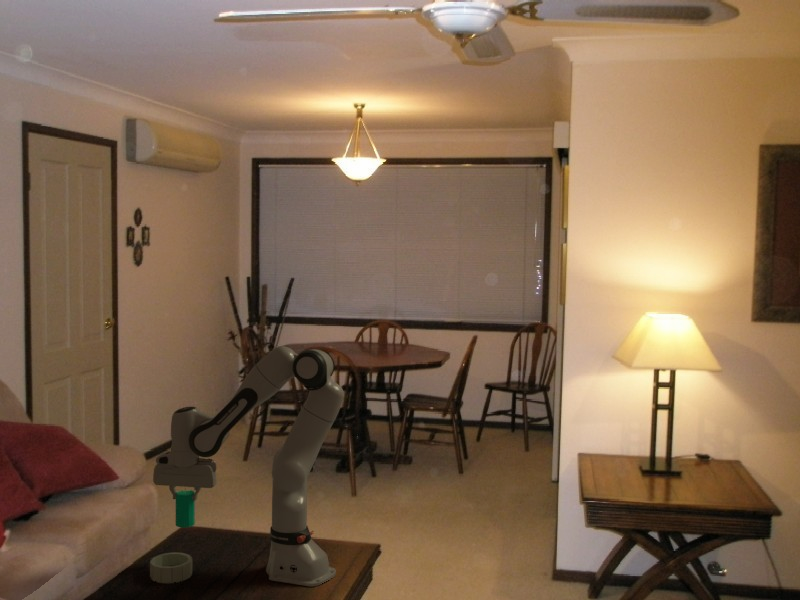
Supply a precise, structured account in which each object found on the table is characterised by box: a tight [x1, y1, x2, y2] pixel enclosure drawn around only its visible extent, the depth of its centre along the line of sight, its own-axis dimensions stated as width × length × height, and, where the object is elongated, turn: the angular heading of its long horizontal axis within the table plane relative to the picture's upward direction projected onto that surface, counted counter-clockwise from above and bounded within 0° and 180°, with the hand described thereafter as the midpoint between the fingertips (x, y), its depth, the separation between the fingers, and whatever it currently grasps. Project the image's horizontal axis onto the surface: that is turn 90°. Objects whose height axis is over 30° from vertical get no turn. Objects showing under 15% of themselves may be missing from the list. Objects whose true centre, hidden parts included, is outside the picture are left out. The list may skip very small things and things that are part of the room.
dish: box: [149, 552, 193, 584], centre depth 265 cm, size 12×12×5 cm
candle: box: [175, 489, 196, 529], centre depth 274 cm, size 6×6×12 cm
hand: (185, 499), depth 273 cm, fingers closed on candle, 5 cm apart
